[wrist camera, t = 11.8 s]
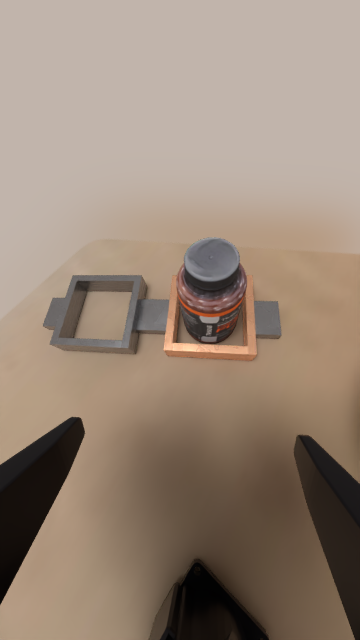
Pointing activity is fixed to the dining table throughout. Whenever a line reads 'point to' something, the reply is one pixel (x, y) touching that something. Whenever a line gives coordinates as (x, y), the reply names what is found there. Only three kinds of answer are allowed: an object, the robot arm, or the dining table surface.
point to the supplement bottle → (211, 289)
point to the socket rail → (154, 320)
